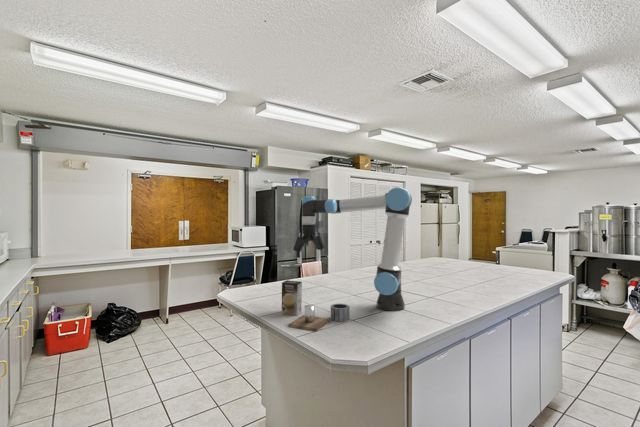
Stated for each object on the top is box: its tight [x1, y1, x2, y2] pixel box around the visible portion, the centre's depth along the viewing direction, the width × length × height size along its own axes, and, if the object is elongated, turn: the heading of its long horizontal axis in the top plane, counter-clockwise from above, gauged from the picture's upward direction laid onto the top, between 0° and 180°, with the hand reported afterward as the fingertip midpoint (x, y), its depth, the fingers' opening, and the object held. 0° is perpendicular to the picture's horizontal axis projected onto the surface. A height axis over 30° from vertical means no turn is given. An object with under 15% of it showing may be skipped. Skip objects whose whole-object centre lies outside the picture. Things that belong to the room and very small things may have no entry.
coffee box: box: [281, 279, 303, 316], centre depth 161 cm, size 9×6×16 cm
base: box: [288, 314, 331, 332], centre depth 144 cm, size 14×14×1 cm
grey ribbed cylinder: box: [330, 303, 351, 323], centre depth 152 cm, size 9×9×6 cm
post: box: [304, 304, 315, 323], centre depth 144 cm, size 4×4×7 cm
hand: (309, 262), depth 173 cm, fingers open, 13 cm apart
